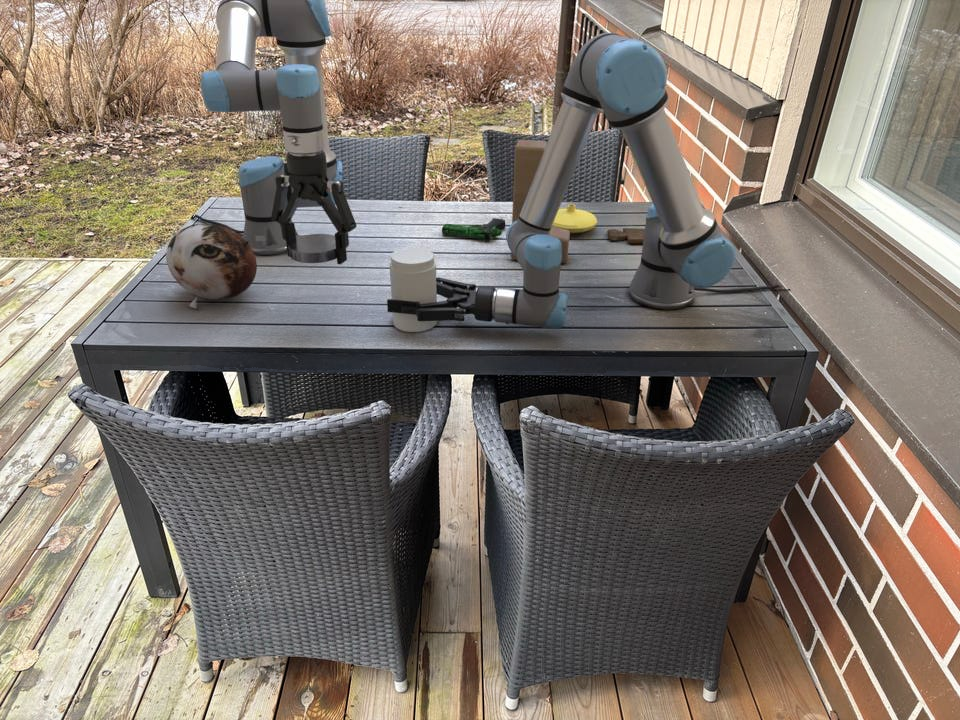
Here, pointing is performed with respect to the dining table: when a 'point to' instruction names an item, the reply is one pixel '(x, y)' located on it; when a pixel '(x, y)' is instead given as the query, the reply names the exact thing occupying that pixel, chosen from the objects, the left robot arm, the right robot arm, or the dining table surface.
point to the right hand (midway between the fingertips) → (395, 295)
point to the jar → (413, 284)
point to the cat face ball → (211, 261)
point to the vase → (574, 220)
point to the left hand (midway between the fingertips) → (317, 258)
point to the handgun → (476, 230)
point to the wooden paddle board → (627, 235)
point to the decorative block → (524, 172)
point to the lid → (313, 248)
